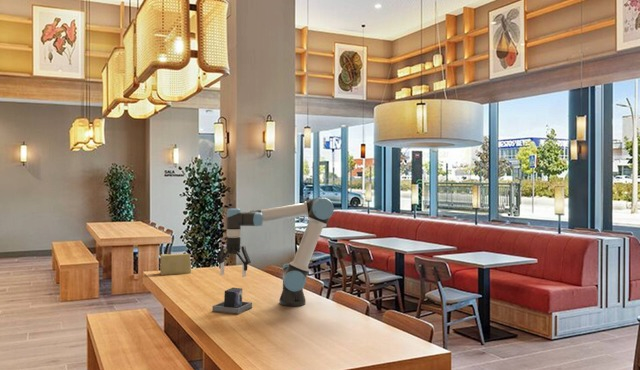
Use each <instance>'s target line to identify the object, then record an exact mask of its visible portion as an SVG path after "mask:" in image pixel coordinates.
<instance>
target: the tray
mask: <svg viewBox="0 0 640 370" xmlns="http://www.w3.org/2000/svg"><path fill="white" fill-rule="evenodd" d="M252 308H253V302H250V301H249V302H248V301H242V307H239V308H231V307H224V301H222V302H219V303H216V304H214V305H212V309H211V310H212V312H213V311H214V312H215V313H223V314H230V313H231V315H240V314H242V313H244V312H246V311H248V310H251V309H252Z"/></svg>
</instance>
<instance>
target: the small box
mask: <svg viewBox="0 0 640 370" xmlns="http://www.w3.org/2000/svg"><path fill="white" fill-rule="evenodd" d="M223 298H224V300H223V302H224V307H231V308H239V307H242V302H243V288H240V287H230V288H229V289H226V290H224V297H223Z"/></svg>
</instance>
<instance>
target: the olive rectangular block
mask: <svg viewBox="0 0 640 370" xmlns="http://www.w3.org/2000/svg"><path fill="white" fill-rule="evenodd" d="M159 259H160V260H159V261H160V267H159V268H160V269H159V274H160V275H161V276H167V275H183V274H185V273H187V274H191V273H192V261H191V254H190V253H175V254H173V253H171V254H170V253H167V254H166V253H162V254H160V258H159Z"/></svg>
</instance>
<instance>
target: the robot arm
mask: <svg viewBox="0 0 640 370" xmlns="http://www.w3.org/2000/svg"><path fill="white" fill-rule="evenodd" d="M334 210H335V208H334V204H333V202H332V200H331V199H329V198H327V197H325V196H324V197H323V196H318V197H315V198H311V199H309V200H305V201H304V202H302V203H301V202H300V203H293V204H288V205H282V206H276V207H269V208H263V209H256V210H250V211H248V212H246V211H244V212H243V211H242V210H241V208H228V209H227V211H226V244H222V245H221V247H220V251H219V253H218V256H217V257H216V260H215V261H216V262H218V263H219V264H218V265H219V266H218V267H219V269H220V276H224V275H225V262H224V261H225V260H226V259H227V258H228V256H229V255H236V256H238V258H239V259H240V260H241V262H242V266H241V267H242V271H241V273H242V274H241V275H242V276H241V277H243V278H245V277H246V276H247V271H248V265H249V264H251V259H250V257H249V254H248V251H247V248H246V246H245V245H243V246H241V227H261V226H263V223H267V222H274V221H281V220H286V219H287V220H288V219H294V218H301V217H306V218H307V219H308V223H307V225H306V227H305V230H304V233H303V236H302V238H301V240H300V242H299V246H298V248H297V250H296V253H295V256H294V257H293V260H292V261H291V262H289V263H284V264H283V265H282V290H281V294H280V297H279V304H280V305H281V306H286V307H301V306H304V305H306V297H305V294H304V287H305V286H306V282H307V281H306V280H307V277H308V275H309V272H310V269H309V264H310V263H311V259H312V256H313V254H314V252H315V249H316V246H317V243H319V239H320V237H321V234H322V230H323V229H324V227H325V226H327V225H328V223H329V220H330V218H331V217H332V215H333V213H334V212H335V211H334ZM224 252H225V253H224Z"/></svg>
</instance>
